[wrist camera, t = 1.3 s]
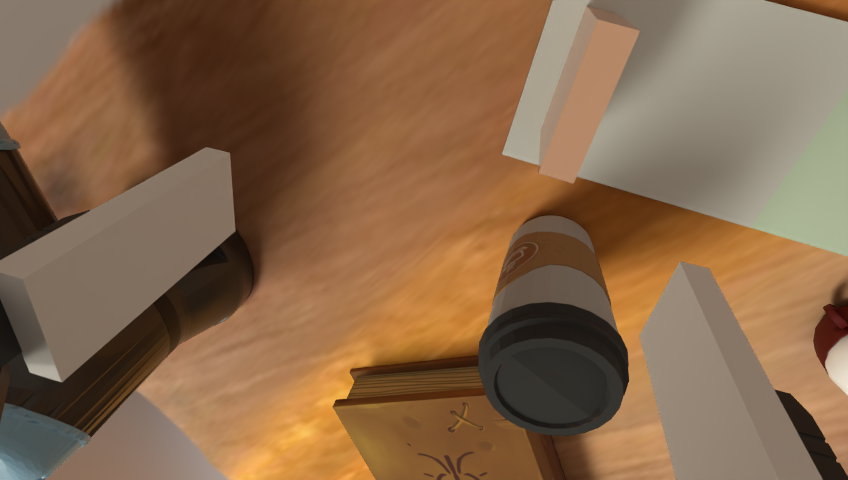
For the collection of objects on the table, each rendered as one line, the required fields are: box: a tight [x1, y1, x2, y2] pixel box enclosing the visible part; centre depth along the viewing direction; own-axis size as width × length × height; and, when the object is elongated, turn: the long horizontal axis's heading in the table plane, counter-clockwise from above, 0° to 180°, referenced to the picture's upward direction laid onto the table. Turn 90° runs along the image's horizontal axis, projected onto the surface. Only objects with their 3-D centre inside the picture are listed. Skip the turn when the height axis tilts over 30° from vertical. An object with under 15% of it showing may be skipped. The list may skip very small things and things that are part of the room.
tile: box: [538, 6, 640, 184], centre depth 27 cm, size 2×8×8 cm, turn 168°
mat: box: [502, 0, 848, 256], centre depth 30 cm, size 26×13×1 cm, turn 78°
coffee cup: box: [478, 215, 629, 436], centre depth 32 cm, size 8×8×15 cm
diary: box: [333, 355, 566, 480], centre depth 50 cm, size 23×19×6 cm
